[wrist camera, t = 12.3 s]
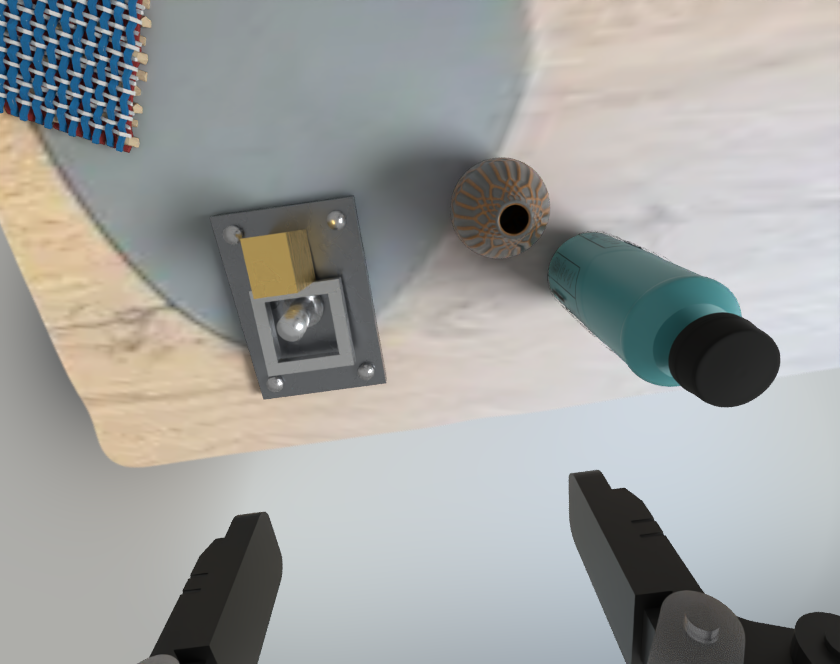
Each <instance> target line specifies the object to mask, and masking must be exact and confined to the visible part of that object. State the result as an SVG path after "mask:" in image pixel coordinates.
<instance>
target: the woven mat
mask: <svg viewBox="0 0 840 664" xmlns="http://www.w3.org/2000/svg"><path fill="white" fill-rule="evenodd" d="M71 2H73V3H71ZM17 3H18V4H20V5H17ZM149 7H150V0H0V113H3V112H4V111H3V106H4V107H5V110H6V112H7V114H10V115H13V116H16V117H20V120H23V121H27V120H29V121H33V122H36V123H38V124H41V125H44V127H45V128H48V129H51V128H52V122H55V123H54V125H53V127H54V128H55V129H58V130H61V131H63V132H66V133H68V135H70V136H73V137H75V136H79V137H83V138H85V139H88V140H92V143H95V144H99V143H100V144H103V145H105V141H106V139H107V146H110V147H112V148H116V150H117V151H120V152H122V151H123V150H124V151H125V152H128V153H129V152H130V150H131V148H132V146H133V147H139V138H136V137H133V132H132V127H137V126H138V121H137V120H135V119H133V117H132V115H133V116H135V114H134V113H142V107H141V106H140V105H139V104H137V103H133V96H139V95H140V94H141V90H140V89H139V88H138V87H137V86H136V82H135V81H136V80H138V79H140V80H143V81H146V82H147V72H144V71H141V70H138V66H139V64H140V63H142V64H145V65H146V64H147V61H148V56H147V54H144V53H141V46H142V45H144V46H145V43H146V37H143V36H141V35H140V27H147V28H151V21H150V20H149V19H148V18H147V17H146V16H141V15H144V14H143V11H142V10H145V8H147V9H149ZM4 16H5V17H4ZM115 22H116V23H115ZM95 31H96V32H95ZM56 34H58V36H57V35H56ZM4 35H5V36H7V38H6V37H4ZM126 41H127V42H128V44H127V43H126ZM80 61H81V62H82V63H80ZM42 65H43V66H45V67H44V69H43V66H42ZM116 90H117V91H116ZM109 93H110V95H109ZM66 94H68V95H66ZM29 96H30V97H31V99H29ZM53 104H54V105H53ZM120 111H121V112H122V114H120ZM35 117H36V120H35ZM101 120H102V121H101ZM124 144H125V145H124ZM123 146H124V148H123Z"/></svg>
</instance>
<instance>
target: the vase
mask: <svg viewBox="0 0 840 664" xmlns="http://www.w3.org/2000/svg"><path fill="white" fill-rule="evenodd" d="M450 212H451V220H452V224H453V227H454V229H455V231H456V233H457V235H458V237H459V238H460V240H461V241H462V242H463V243H464V244H465V245H466V246H467V247H468V248H469V249H471V250H472V251H474V252H475V253H477V254H480V255H482V256H485V257H489V258H508V257H512V256H515V255H518V254H520V253H522V252H524V251H526V250H527V249H529V248H530V247H531V246H532V245H533V244H534V243H535V242H536V241H537V240H538V239H539V238H540V236H541V235H542V233H543V231H544V230H545V227H546V225H547V222H548V218H549V213H550V201H549V195H548V191H547V189H546V186H545V184H544V182H543V180H542V179H541V177H540V176H539V175H538V174H537V172H536V171H535V170H533V169H532V168H531V167H530V166H528V165H527V164H525V163H523V162H521V161H518V160H515V159H511V158H492V159H488V160H485V161H482V162H480V163H478V164H476V165H474V166H473V167H471V168H470V169H469V170H468V171H467V172H466V173H465V174H464V175H463V176H462V177H461V178H460V180H459V181H458V183H457V185H456V187H455V189H454V191H453V194H452V198H451V205H450Z"/></svg>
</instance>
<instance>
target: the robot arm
mask: <svg viewBox="0 0 840 664" xmlns="http://www.w3.org/2000/svg"><path fill="white" fill-rule="evenodd" d="M569 518H570V519H569V520H570V527H571V532H572V536H573V539H574V542H575V545H576V547H577V550H578V552H579V554H580V556H581V559H582V561H583V563H584V566H585V568H586V571H587V573H588V575H589V577H590V580H591V582H592V585H593V587H594V589H595V592H596V594H597V596H598V598H599V601H600V603H601V605H602V608H603V610H604V613H605V615H606V617H607V620H608V622H609V624H610V627H611V629H612V631H613V634H614V636H615V638H616V641H617V643H618V645H619V648H620V650H621V652H622V655H623V657H624V659H625V662H626V664H840V616H838V615H834V614H831V613H824V612H814V613H808V614H805V615H803V616H802V617H800V618H799V619H798V621H797V623H796V625H795V629H792V628H786V627H780V626H775V625H769V624H764V623H758V622H753V621H749V620H746V619H743V618H740V617H737V616H736V615H735V614H734V613H733V612H732V611H731V610H730V609H729V608H728V607H727V606H726V605H724V604H723V603H722V602H720V601H719V600H717V599H715V598H713V597H711V596H709V595H707V594H705V593H704V592H703V591H702V589H701V588H700V586H699V585H698V584H697V582H696V580H695V579H694V578H693V576H692V574H691V573H690V571H689V570H688V568H687V567H686V565H685V564H684V562H683V561H682V560H681V558H680V557H679V555H678V554H677V552H676V550H675V549H674V547H673V546H672V544H671V543H670V541H669V540H668V539H667V537H666V536H664V534H663V531H662V530H661V528H660V527H659V525H658V524H657V522H656V521H654V518H653V516H652V515H651V513H650V512H649V510H648V509H647V507H646V506H645V504H644V503H643V501H642V500H640V499H639V498H638V497H636V496H635V495H634V494H632V493H631V492H630V491H628V490H627V489H626V488H619V489H611V487H610V485H609V484H608V482H607V480H606V479H605V477H604V476H603V474H602V472H600V471H599V470H593V471H585V472H578V473H571V474H570V475H569ZM190 576H191V577H190V579H188V581H187V583H186V585H185V587H184V589H183V594H182V595H180V597H179V599H178V601H177V603H176V605H175V607H174V609H173V611H172V613H171V615H170V617H169V619H168V621H167V623H166V625H165V627H164V629H163V631H162V633H161V635H160V637H159V639H158V641H157V643H156V645H155V647H154V649H153V651H152V653H151V655H150V657H149V658H147V659H145V660H143V661H141V662H140V663H138V664H257V663H258V660H259V656H260V653H261V649H262V645H263V642H264V638H265V635H266V631H267V628H268V624H269V621H270V617H271V614H272V610H273V607H274V603H275V599H276V596H277V592H278V589H279V585H280V582H281V577H282V556H281V552H280V549H279V546H278V542H277V540H276V536H275V533H274V530H273V527H272V524H271V521H270V518H269V516H268V514H267V513H266V512H259V513H251V514H243V515H237V516H235V517H234V519H233V520H232V522H231V525H230V527H229V529H228V532H227V534H226V536H225V538H218V539H215V540H214V541H213V542H212V543H211V544H210V545H209V547H208V548H207V549H206V550H205V551H204V552H203V553H202V554H201V555H200V557H199V559H198V561H197V563H196V565H195V567H194V569H193V571H192V573H191V575H190Z"/></svg>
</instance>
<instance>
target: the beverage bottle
mask: <svg viewBox="0 0 840 664" xmlns="http://www.w3.org/2000/svg"><path fill="white" fill-rule="evenodd" d="M588 232H589V231H588ZM601 232H602V231H601ZM604 233H605V232H604ZM609 235H610V234H609ZM613 236H614V235H613ZM613 236H612V235H611V236H608V235H605V234H602V233H594V232H589V233H584V232H583V234H581V233H580V235H579V234H578V235H577V236H575V237H573V238H571V239H569V240H567V241H566V242H565V243H563V244H562V245H561V246H560V247H559V248H558V250H557V251H556V252H555V254H554V256H553V258H552V260H551V262H550V265H549V269H548V270H549V275H548V276H549V284H550V288H549V289H551V290H552V292H553V294H554V295H555V296H556V298H557V299H558V300H559V302H560V303H562V304H563V305H564V306H565V307H566V309H565V308H564V307H563V306H562V305H561V304H560V305H561V306H562V307H563V308H564V309H565V310H566V311H567V308H568V310H570V311H569V312H572V313H573V314H574V315H575V317H577V318H578V319H579V320H580V321H581V322H582V323H583V324H584V327H585V326H586V327H587V328H588V330H590V331H591V332H592V333H593V334H592V335H594V334H595V335H596V336H597V337H598V338H599V339H600V340H601V341H602V342H603V343H604V344H606V345H607V346H608V347H609V348H610V349H611V350H612V352H613V351H614V352H615V353H616V354H617V355H618V356H619V357H620V358H621V359H622V360H623V361H624V362H625V363H626V364H627V365H628V367H629V368H630V369H631V370H632V371H633V372H634V373H635V374H636V375H637V376H638V377H640V378H641V379H643V380H645V381H647V382H649V383H652V384H655V385H660V386H668V387H671V386H682V387H683V388H684V389H685V390H687V391H688V392H691V393H693V394H694V395H696V396H697V397H699V398H700V399H701V400H703V401H704V402H706V403H709V404H711V405H714V406H718V407H734V406H739V405H742V404H745V403H748V402H749V401H752V400H753V399H755V398H757V397H758V396H759V395H760V394H762V393H763V392H764V391H765V390H766V389H767V388H768V387H769V386H770V385H771V383H772V382H773V381H774V379H775V377H776V375H777V373H778V370H779V367H780V352H779V349H778V347H777V345H776V343H775V342H774V340H773V339H772V338H771V337H770V336H769V335H767V334H766V333H765V332H763V331H761V330H760V329H758V328H757V327H756V326H755V325H754V324H752V323H751V322H750V321H748V320H746V319H744V318H742V316H741V310H740V306H739V304H738V302H737V299H736V298H735V296H734V295H733V293H732V292H731V291H730V290H729V289H728V288H727V287H726V286H724V285H723V284H721V283H719V282H717V281H716V280H714V279H711V278H708V277H703V276H701V275H699V274H696V273H694V272H692V271H689V270H687V269H685V268H682V267H680V266H678V265H675V264H673V263H671V261H670V262H668V261H666V260H664V259H662V258H660V257H659V256H656V255H657V254H656V255H654V254H652V253H650V252H649V251H648V252H647V251H645V250H643V249H642V248H641V247H637V245H636V244H635V245H636V246H635V245H632V243H631V244H630V242H629V243H627V242H628V241H626V242H625V241H624V242H623V241H620V240H618V238H617V237H616V238H617V239H615V238H613ZM621 240H622V239H621ZM633 244H634V243H633ZM644 249H645V248H644ZM663 257H664V256H663ZM666 259H667V258H666ZM548 286H549V285H548ZM550 292H551V291H550ZM551 294H552V293H551ZM567 312H568V311H567ZM569 312H568V313H569ZM571 315H572V314H571ZM573 317H574V316H573ZM576 320H577V319H576ZM579 320H578V322H579ZM580 324H581V323H580ZM583 324H581V325H583ZM586 330H587V329H586ZM589 333H590V332H589ZM594 337H595V336H594ZM599 343H600V342H599ZM606 348H607V347H606Z"/></svg>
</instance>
